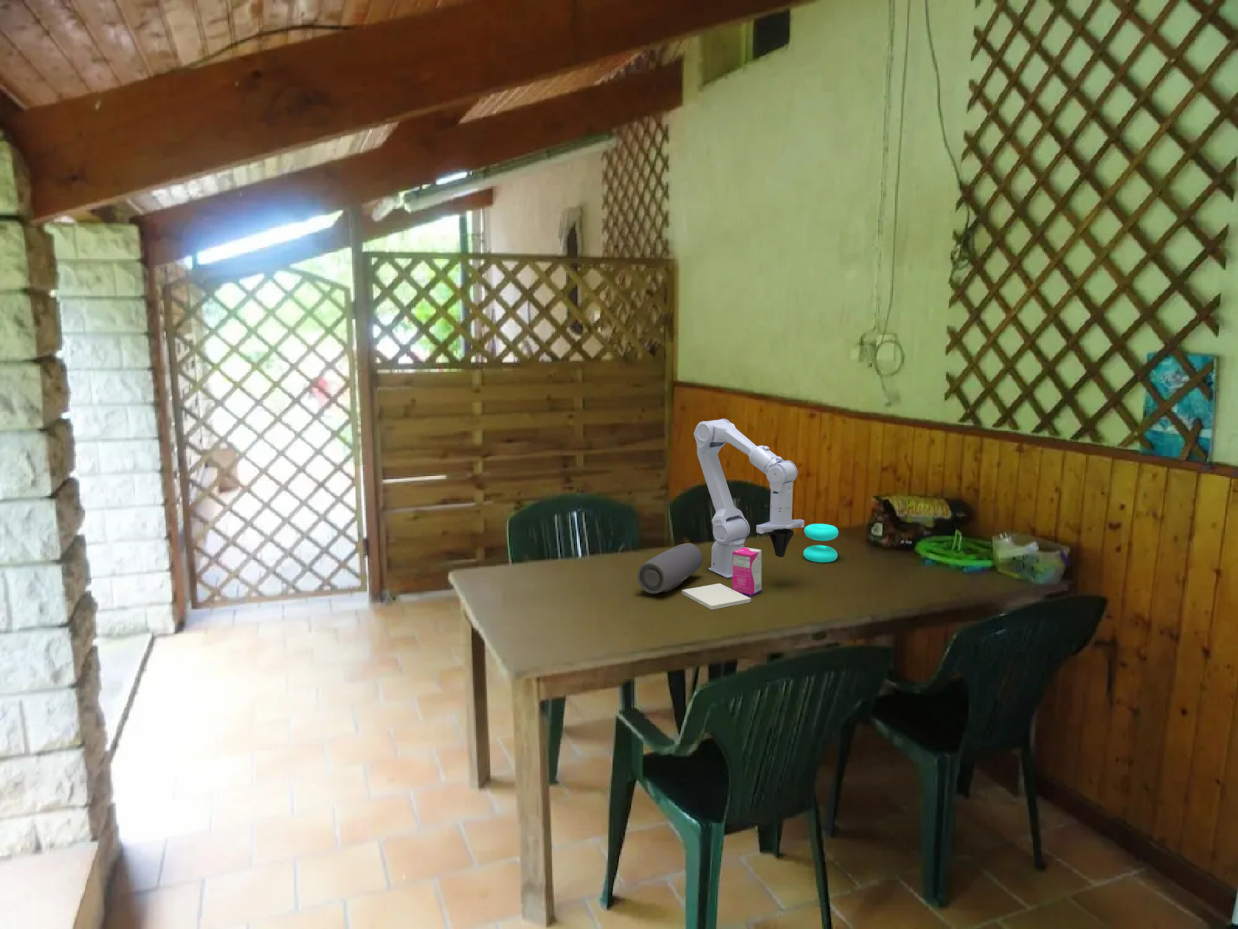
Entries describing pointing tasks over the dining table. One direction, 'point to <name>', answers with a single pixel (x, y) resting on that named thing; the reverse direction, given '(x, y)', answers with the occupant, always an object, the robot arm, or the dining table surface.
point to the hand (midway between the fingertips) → (779, 556)
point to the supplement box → (747, 571)
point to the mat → (716, 596)
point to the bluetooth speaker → (669, 568)
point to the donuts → (820, 551)
